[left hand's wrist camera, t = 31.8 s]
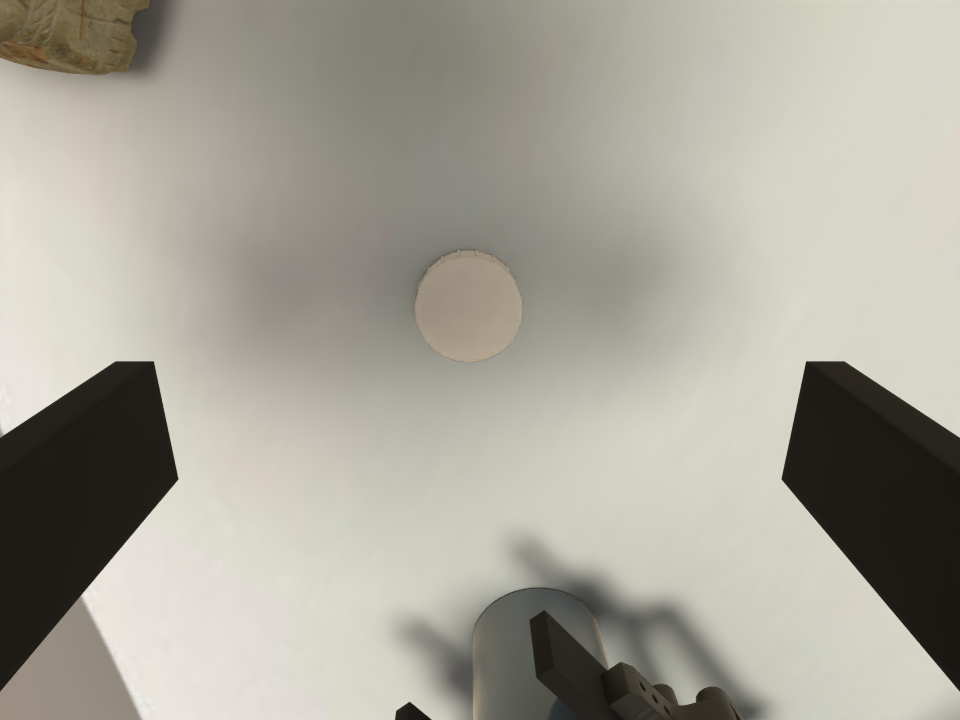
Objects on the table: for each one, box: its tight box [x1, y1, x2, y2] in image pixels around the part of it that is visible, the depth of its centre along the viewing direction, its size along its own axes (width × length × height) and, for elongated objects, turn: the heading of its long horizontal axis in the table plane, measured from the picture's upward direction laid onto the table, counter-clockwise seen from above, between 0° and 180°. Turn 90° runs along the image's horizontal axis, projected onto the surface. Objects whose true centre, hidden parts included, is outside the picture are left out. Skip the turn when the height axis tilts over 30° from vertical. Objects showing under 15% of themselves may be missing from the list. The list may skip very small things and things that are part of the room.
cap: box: [414, 249, 523, 362], centre depth 24 cm, size 4×4×2 cm
